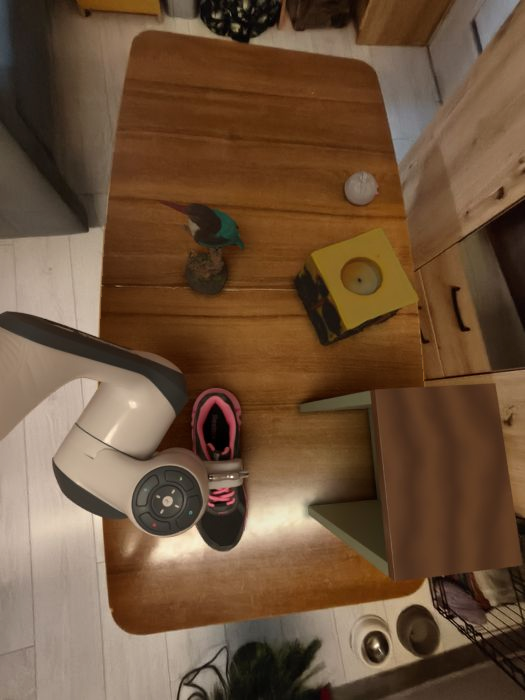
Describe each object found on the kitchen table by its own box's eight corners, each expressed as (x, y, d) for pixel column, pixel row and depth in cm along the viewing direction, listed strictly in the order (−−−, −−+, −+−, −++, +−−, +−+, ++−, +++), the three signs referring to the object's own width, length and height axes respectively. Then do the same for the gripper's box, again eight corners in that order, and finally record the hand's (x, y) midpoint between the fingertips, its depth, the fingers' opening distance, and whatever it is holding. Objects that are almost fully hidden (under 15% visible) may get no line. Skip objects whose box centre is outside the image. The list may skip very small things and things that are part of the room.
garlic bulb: (371, 213, 91) (387, 193, 83) (339, 208, 90) (353, 188, 82) (371, 185, 92) (388, 162, 84) (340, 180, 91) (354, 157, 83)
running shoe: (190, 549, 74) (189, 575, 61) (179, 391, 78) (176, 385, 65) (251, 540, 75) (263, 563, 63) (238, 386, 80) (246, 379, 67)
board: (388, 577, 46) (394, 582, 44) (369, 390, 49) (374, 389, 48) (513, 561, 48) (523, 565, 47) (487, 384, 51) (495, 383, 50)
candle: (385, 322, 87) (423, 301, 72) (321, 349, 84) (348, 333, 69) (354, 256, 88) (385, 223, 74) (290, 281, 85) (309, 251, 71)
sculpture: (166, 250, 82) (155, 176, 58) (239, 257, 84) (258, 189, 60) (163, 290, 81) (150, 232, 56) (237, 297, 83) (255, 244, 58)
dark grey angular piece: (308, 514, 78) (388, 577, 46) (300, 404, 81) (369, 390, 49) (385, 506, 80) (513, 561, 48) (374, 400, 84) (487, 384, 51)
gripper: (249, 452, 60) (239, 447, 74) (97, 462, 57) (116, 455, 70) (252, 498, 59) (241, 485, 73) (97, 512, 56) (116, 495, 69)
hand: (179, 470), depth 72 cm, fingers closed
